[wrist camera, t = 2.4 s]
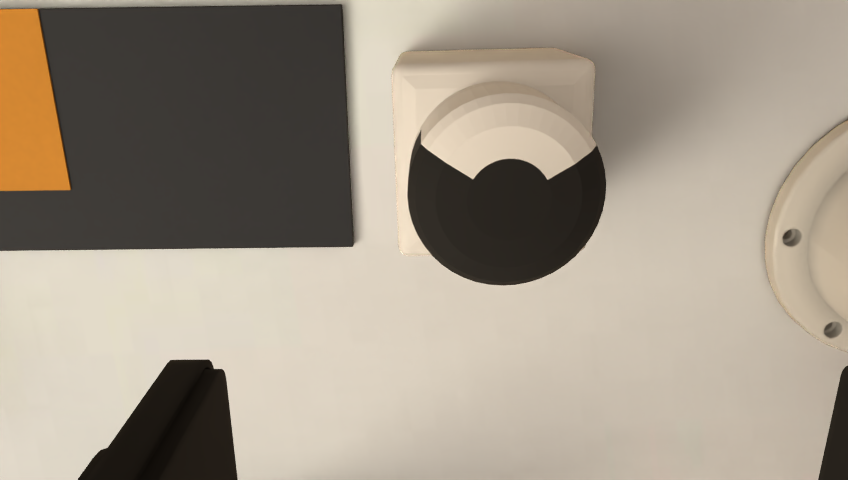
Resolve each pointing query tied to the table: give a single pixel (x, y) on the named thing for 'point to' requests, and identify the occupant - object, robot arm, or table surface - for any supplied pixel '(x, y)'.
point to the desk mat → (174, 128)
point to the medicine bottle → (496, 160)
